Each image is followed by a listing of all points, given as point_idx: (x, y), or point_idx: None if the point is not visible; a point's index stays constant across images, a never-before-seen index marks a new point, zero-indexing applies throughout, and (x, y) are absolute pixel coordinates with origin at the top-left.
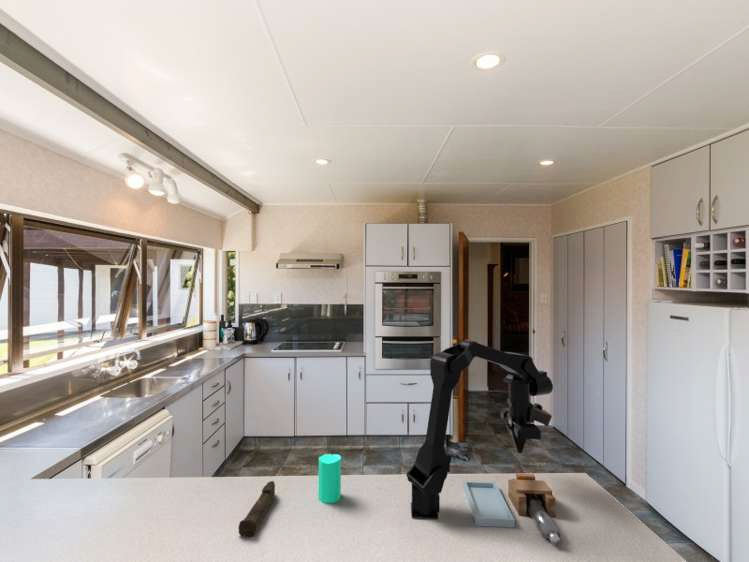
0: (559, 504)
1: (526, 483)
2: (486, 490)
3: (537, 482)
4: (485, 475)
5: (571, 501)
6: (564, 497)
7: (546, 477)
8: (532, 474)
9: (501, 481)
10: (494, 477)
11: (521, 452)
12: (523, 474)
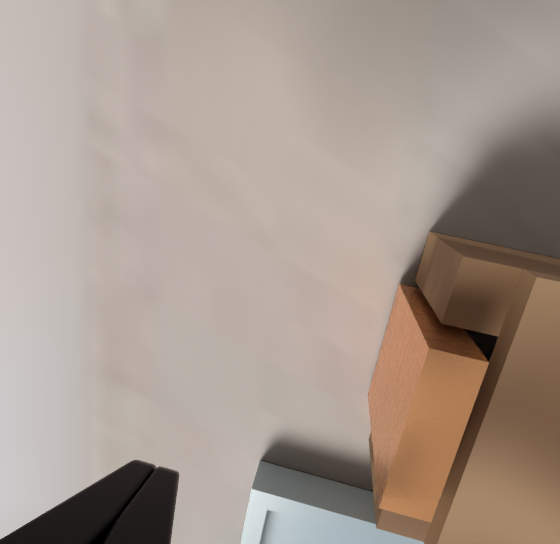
0: (547, 151)
1: (547, 483)
2: (301, 537)
3: (554, 369)
4: (99, 433)
5: (532, 15)
6: (459, 40)
7: (129, 4)
8: (436, 364)
9: (178, 379)
10: (125, 394)
11: (177, 482)
12: (414, 450)
